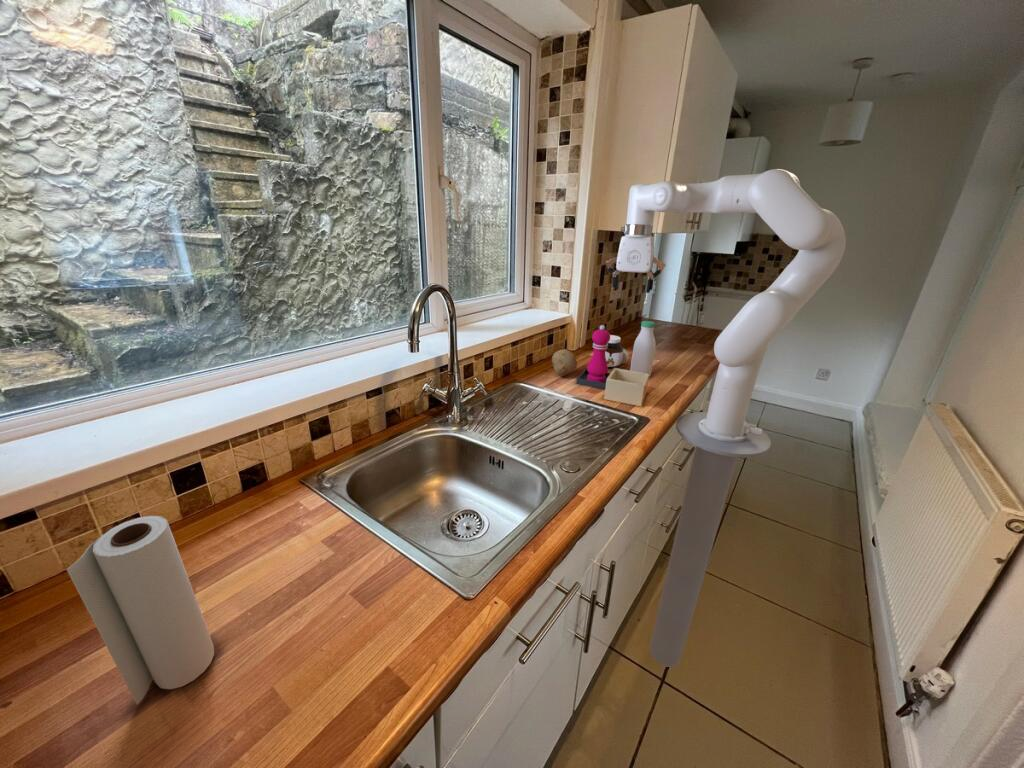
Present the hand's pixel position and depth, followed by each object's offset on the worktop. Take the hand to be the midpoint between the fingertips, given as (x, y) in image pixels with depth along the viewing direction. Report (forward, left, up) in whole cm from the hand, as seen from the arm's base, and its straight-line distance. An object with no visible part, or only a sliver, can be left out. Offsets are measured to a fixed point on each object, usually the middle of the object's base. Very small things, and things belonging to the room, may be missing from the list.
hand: (631, 291), depth 124 cm
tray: (+9, -5, -33) cm, 35 cm away
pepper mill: (+9, -5, -33) cm, 35 cm away
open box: (-3, +3, -33) cm, 34 cm away
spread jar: (+8, -26, -34) cm, 43 cm away
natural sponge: (+21, -5, -34) cm, 40 cm away
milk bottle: (-4, -21, -34) cm, 40 cm away
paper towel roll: (+31, +116, -34) cm, 125 cm away
